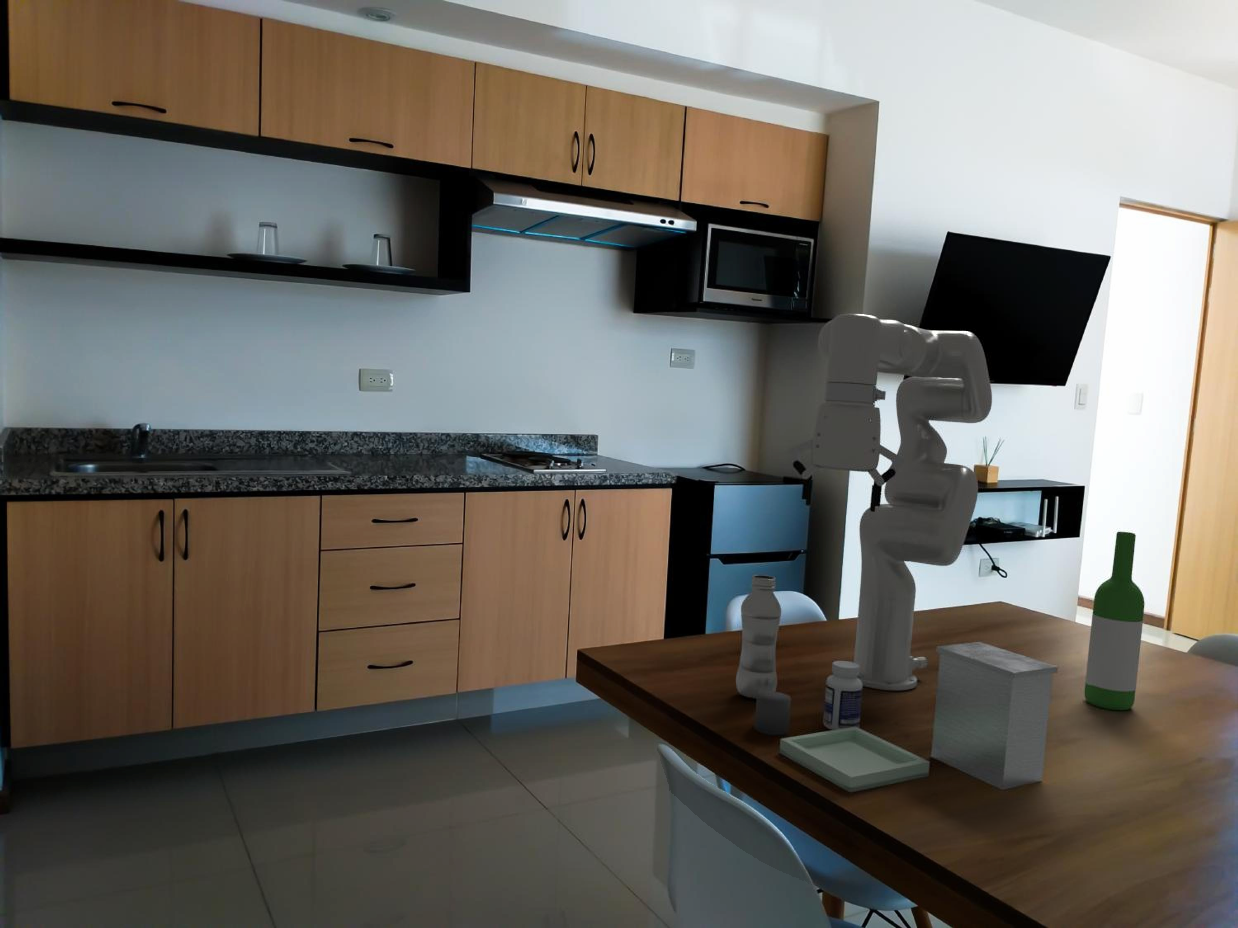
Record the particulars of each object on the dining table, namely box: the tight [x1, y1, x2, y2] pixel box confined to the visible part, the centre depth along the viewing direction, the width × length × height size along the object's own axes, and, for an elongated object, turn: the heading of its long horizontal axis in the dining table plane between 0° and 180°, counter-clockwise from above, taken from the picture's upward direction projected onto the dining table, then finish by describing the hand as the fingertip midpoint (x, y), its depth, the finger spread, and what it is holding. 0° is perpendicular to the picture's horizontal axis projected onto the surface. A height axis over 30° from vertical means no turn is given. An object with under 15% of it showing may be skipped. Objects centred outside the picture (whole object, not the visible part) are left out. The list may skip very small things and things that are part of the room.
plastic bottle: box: [735, 574, 782, 700], centre depth 157 cm, size 6×7×20 cm
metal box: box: [930, 641, 1059, 791], centre depth 132 cm, size 9×13×16 cm
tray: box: [779, 727, 931, 793], centre depth 131 cm, size 14×14×2 cm
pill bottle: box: [822, 660, 864, 731], centre depth 145 cm, size 5×5×10 cm
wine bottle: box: [1084, 531, 1145, 711], centre depth 165 cm, size 8×8×30 cm
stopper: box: [754, 691, 792, 736], centre depth 143 cm, size 5×5×5 cm
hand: (840, 507), depth 147 cm, fingers open, 9 cm apart
